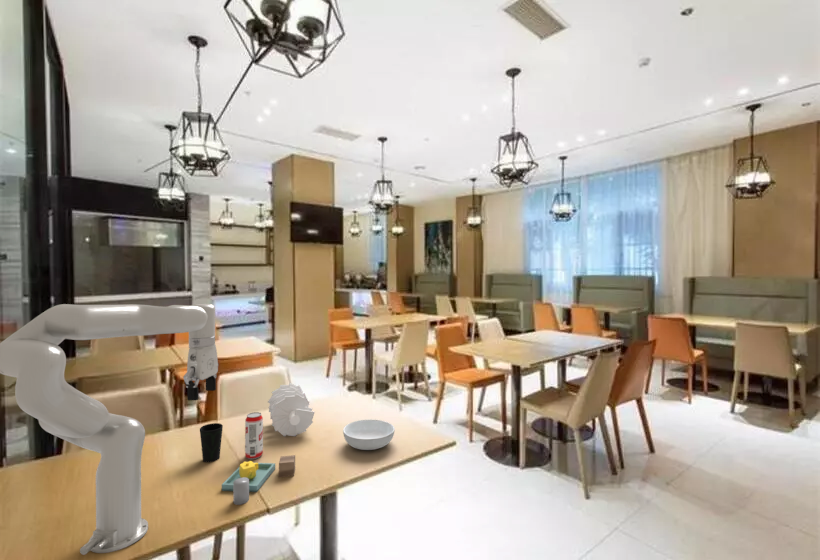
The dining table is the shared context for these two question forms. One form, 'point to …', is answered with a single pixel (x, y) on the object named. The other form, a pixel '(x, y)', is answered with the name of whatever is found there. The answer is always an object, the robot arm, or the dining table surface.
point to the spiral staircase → (290, 410)
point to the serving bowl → (368, 434)
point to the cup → (211, 441)
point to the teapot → (248, 469)
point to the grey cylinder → (241, 491)
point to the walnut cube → (287, 466)
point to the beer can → (254, 435)
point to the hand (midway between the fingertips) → (202, 395)
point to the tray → (255, 483)
